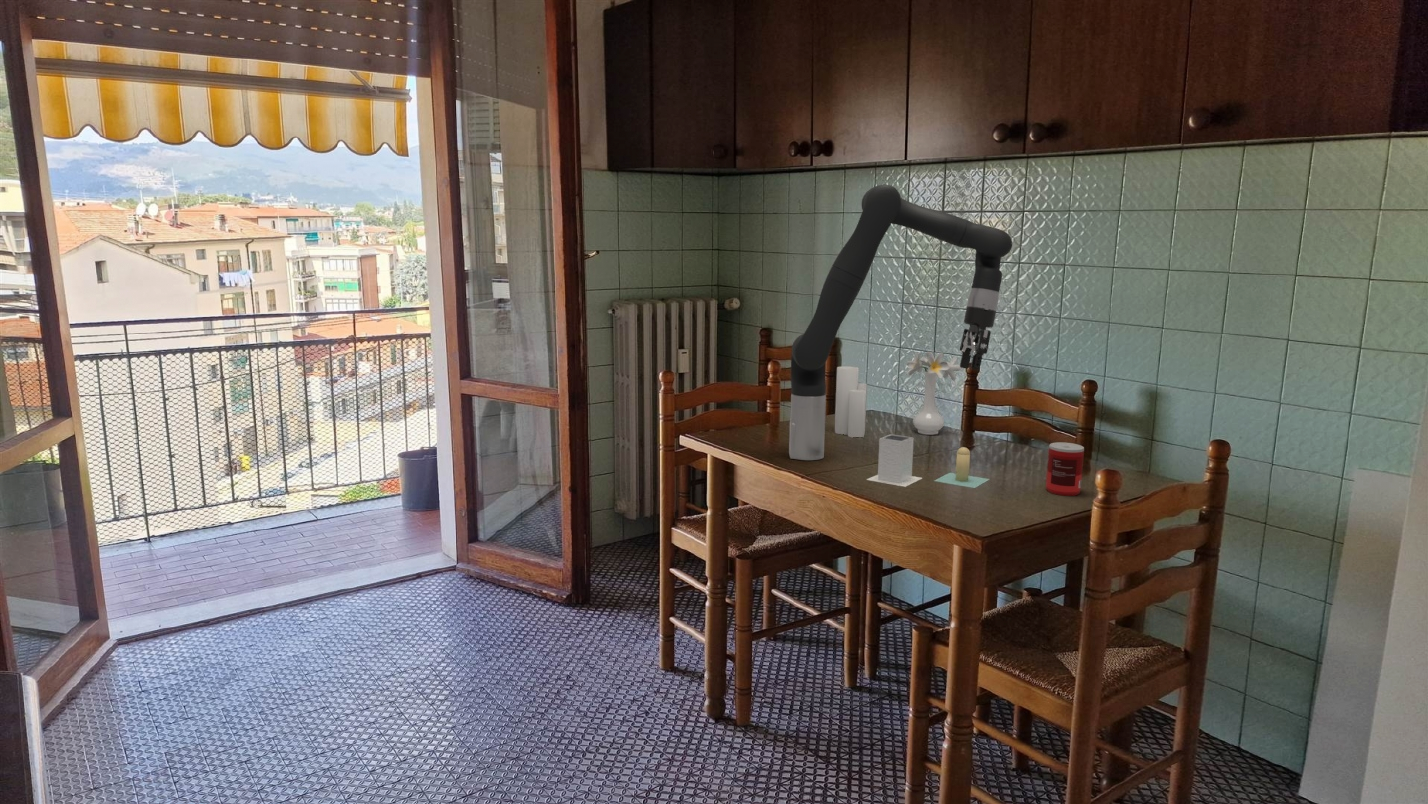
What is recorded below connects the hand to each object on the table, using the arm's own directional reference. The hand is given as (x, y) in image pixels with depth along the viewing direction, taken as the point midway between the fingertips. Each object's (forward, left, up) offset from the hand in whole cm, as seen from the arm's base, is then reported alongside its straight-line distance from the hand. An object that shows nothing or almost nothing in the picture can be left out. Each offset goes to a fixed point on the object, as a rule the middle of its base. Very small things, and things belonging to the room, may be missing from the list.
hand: (969, 369), depth 232 cm
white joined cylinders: (-26, +33, -25) cm, 49 cm away
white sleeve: (-23, -25, -23) cm, 41 cm away
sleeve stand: (-23, -25, -25) cm, 42 cm away
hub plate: (-7, -25, -25) cm, 36 cm away
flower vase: (-2, +37, -25) cm, 45 cm away
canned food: (+16, -28, -25) cm, 41 cm away
